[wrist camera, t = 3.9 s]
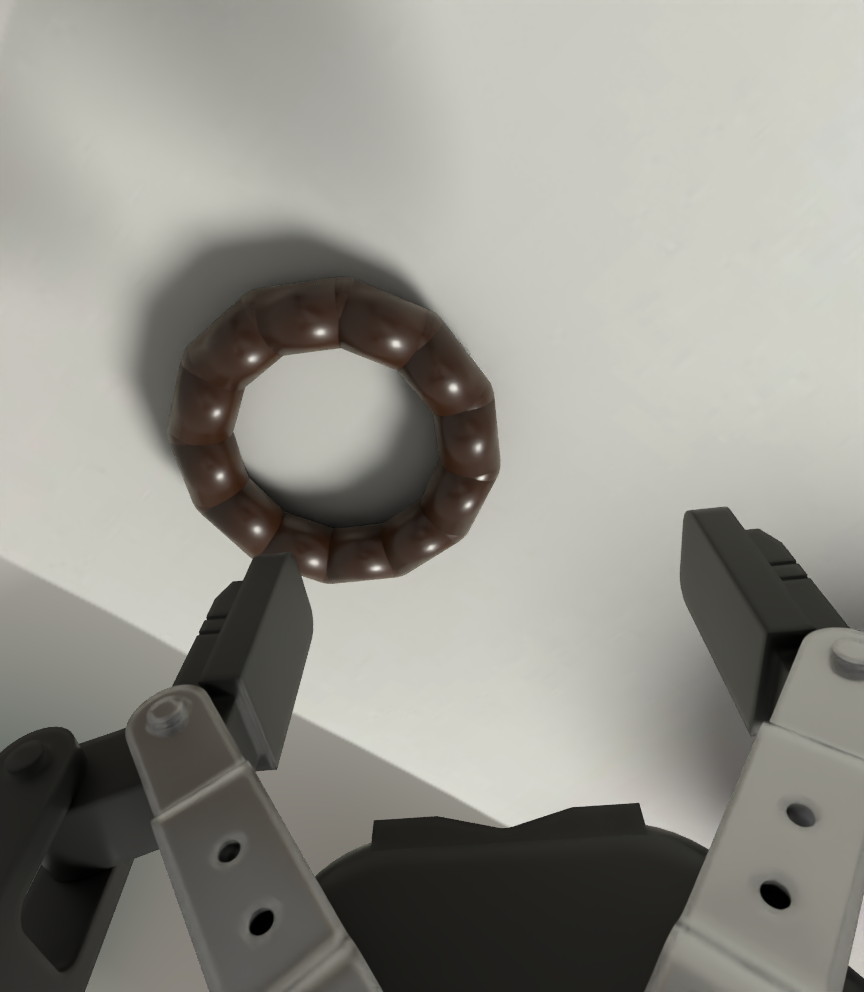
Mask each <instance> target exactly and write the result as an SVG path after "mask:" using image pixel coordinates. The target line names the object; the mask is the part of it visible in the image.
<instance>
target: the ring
mask: <svg viewBox="0 0 864 992" xmlns="http://www.w3.org/2000/svg"><path fill="white" fill-rule="evenodd" d="M336 348H342V349H344V350H347V351H350V352H352V353H355V354H357V355H360V356H362V357H365V358H367V359H370V360H373V361H375V362H378V363H380V364H383V365H385V366H388V367H390V368H393V369H396V370H397V371H398V372H399V373H400V374H401V375H402V377H403V378H404V379H405V380H406V381H407V383H408V384H409V385H410V386H411V387H412V389H413V390H414V391H415V392H416V393H417V395H418V396H419V397H420V398H421V399H422V401H423V402H424V403H425V404H426V405H427V407H428V408H429V409H430V410H431V411H432V413H433V418H434V425H435V432H436V438H437V445H438V452H439V458H440V459H439V461H438V463H437V466H436V468H435V470H434V472H433V474H432V476H431V479H430V481H429V483H428V485H427V487H426V489H425V492H424V494H423V496H422V498H421V499H419V500H418V501H416V502H415V503H413V504H412V505H410V506H409V507H407V508H406V509H404V510H403V511H401V512H400V513H398V514H397V515H395V516H394V517H392V518H391V519H389V520H388V521H386V522H385V523H381V524H372V525H363V526H354V527H344V528H335V529H334V528H331V527H328V526H325V525H322V524H319V523H316V522H313V521H310V520H307V519H304V518H301V517H298V516H295V515H293V514H290V513H287V512H284V511H283V510H282V509H281V508H280V507H279V506H278V505H277V504H276V503H275V502H274V501H273V500H272V499H271V498H270V497H269V496H268V495H267V494H266V493H265V492H264V491H262V490H261V489H260V488H259V487H258V486H257V485H256V484H255V483H254V482H253V481H252V480H251V479H250V478H249V477H248V475H247V472H246V469H245V466H244V463H243V460H242V457H241V454H240V451H239V448H238V445H237V442H236V439H235V436H234V432H233V430H234V426H235V423H236V419H237V415H238V411H239V408H240V404H241V400H242V397H243V393H244V389H245V387H246V386H247V385H248V384H250V383H251V382H252V381H253V380H254V379H256V378H257V377H258V376H259V375H260V374H262V373H263V372H264V371H265V370H266V369H268V368H269V367H270V366H271V365H272V364H274V363H275V362H276V361H277V360H278V359H280V358H281V357H282V356H284V355H291V354H299V353H306V352H314V351H321V350H329V349H336ZM167 435H168V439H169V442H170V445H171V447H172V450H173V452H174V455H175V458H176V460H177V463H178V465H179V468H180V471H181V473H182V476H183V478H184V481H185V483H186V486H187V489H188V491H189V494H190V496H191V499H192V502H193V504H194V506H195V507H196V509H197V510H198V511H199V512H200V513H201V514H202V515H203V516H204V517H205V518H207V519H208V520H209V521H210V522H211V523H212V524H213V525H214V526H216V527H217V528H218V529H219V530H220V531H221V532H222V533H223V534H225V535H226V536H227V537H228V538H229V539H230V540H231V541H232V542H234V543H235V544H236V545H237V546H238V547H239V548H240V549H241V550H243V551H244V552H245V553H246V554H247V555H248V556H249V557H251V558H252V559H253V558H254V557H255V556H257V555H267V554H276V553H285V552H291V553H293V555H294V556H295V558H296V561H297V564H298V567H299V571H300V574H301V576H303V577H306V578H310V579H313V580H316V581H319V582H322V583H327V584H335V583H345V582H355V581H365V580H375V579H385V578H395V577H400V576H403V575H405V574H407V573H409V572H410V571H412V570H414V569H415V568H417V567H419V566H420V565H422V564H423V563H425V562H427V561H428V560H430V559H431V558H433V557H435V556H436V555H438V554H439V553H441V552H443V551H444V550H446V549H448V548H449V547H451V546H452V545H454V544H456V543H457V542H459V541H460V540H461V539H463V538H464V537H465V536H466V534H467V533H468V531H469V530H470V528H471V526H472V524H473V522H474V520H475V518H476V516H477V514H478V512H479V510H480V509H481V507H482V505H483V503H484V501H485V499H486V497H487V495H488V493H489V491H490V490H491V488H492V486H493V484H494V482H495V480H496V478H497V476H498V474H499V470H500V452H499V442H498V431H497V421H496V410H495V400H494V392H493V388H492V386H491V384H490V382H489V380H488V379H487V378H486V376H485V375H484V374H483V372H482V371H481V370H480V368H479V367H478V366H477V365H476V363H475V362H474V361H473V359H472V358H471V357H470V355H469V354H468V353H467V352H466V350H465V349H464V348H463V346H462V345H461V344H460V342H459V341H458V340H457V338H456V337H455V336H454V335H453V333H452V332H451V331H450V329H449V328H448V327H447V325H446V324H445V323H444V322H443V320H442V319H441V318H440V317H439V316H438V315H437V314H435V313H434V312H432V311H430V310H428V309H426V308H423V307H421V306H419V305H416V304H414V303H411V302H409V301H406V300H404V299H402V298H399V297H397V296H394V295H392V294H389V293H387V292H385V291H382V290H380V289H377V288H375V287H373V286H370V285H368V284H365V283H363V282H360V281H358V280H356V279H352V278H349V277H334V278H327V279H320V280H313V281H306V282H299V283H292V284H285V285H278V286H271V287H264V288H258V289H254V290H252V291H250V292H248V293H246V294H245V295H244V296H242V297H241V298H240V299H239V300H238V301H237V302H236V303H235V304H234V305H232V306H231V307H230V308H229V309H228V310H227V311H226V312H225V313H224V314H222V315H221V316H220V317H219V318H218V319H217V320H216V321H215V322H214V323H212V324H211V325H210V326H209V327H208V328H207V329H206V330H205V331H204V332H202V333H201V334H200V335H199V336H198V337H197V338H196V339H195V340H194V341H193V342H191V343H190V344H189V345H188V347H187V348H186V349H185V351H184V353H183V355H182V358H181V362H180V367H179V372H178V377H177V381H176V386H175V391H174V396H173V401H172V406H171V410H170V415H169V420H168V426H167Z"/></svg>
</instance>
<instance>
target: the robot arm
mask: <svg viewBox="0 0 864 992" xmlns="http://www.w3.org/2000/svg"><path fill="white" fill-rule="evenodd" d="M680 583H681V590H682V594H683V598H684V601H685V603H686V606H687V608H688V610H689V612H690V614H691V616H692V618H693V620H694V622H695V624H696V626H697V628H698V630H699V632H700V634H701V636H702V638H703V640H704V642H705V644H706V646H707V648H708V650H709V652H710V654H711V656H712V658H713V660H714V663H715V665H716V667H717V669H718V671H719V673H720V675H721V677H722V679H723V681H724V683H725V685H726V687H727V689H728V691H729V693H730V695H731V697H732V699H733V701H734V703H735V705H736V707H737V709H738V711H739V713H740V715H741V717H742V719H743V721H744V723H745V725H746V727H747V729H748V731H749V734H750V736H756V738H755V741H754V743H753V746H752V748H751V750H750V753H749V755H748V758H747V760H746V762H745V765H744V767H743V770H742V772H741V774H740V777H739V779H738V782H737V784H736V786H735V789H734V791H733V794H732V796H731V798H730V801H729V803H728V806H727V808H726V810H725V813H724V815H723V817H722V820H721V822H720V825H719V827H718V829H717V832H716V834H715V837H714V839H713V841H712V844H711V846H710V849H709V850H708V849H707V848H705V847H703V846H701V845H700V844H698V843H696V842H694V841H692V840H690V839H688V838H686V837H683V836H681V835H679V834H676V833H674V832H671V831H667V830H664V829H661V828H657V827H653V826H648V825H645V822H644V819H643V815H642V812H641V808H640V804H639V803H631V804H616V805H601V806H586V807H572V808H569V809H566V810H563V811H560V812H556V813H553V814H550V815H547V816H544V817H541V818H538V819H535V820H532V821H529V822H526V823H523V824H520V825H517V826H514V827H510V828H496V827H491V826H486V825H480V824H475V823H470V822H464V821H459V820H454V819H449V818H444V817H438V816H435V817H420V818H404V819H390V820H375V821H374V825H373V833H372V843H369V844H366V845H363V846H361V847H359V848H356V849H355V850H353V851H350V852H348V853H346V854H345V855H343V856H341V857H340V858H338V859H337V860H335V861H333V862H332V863H331V864H330V865H328V866H327V867H326V868H325V869H323V870H322V871H321V872H319V873H318V874H317V875H316V876H314V874H313V873H312V871H311V869H310V867H309V866H308V864H307V862H306V860H305V858H304V857H303V855H302V853H301V851H300V850H299V848H298V846H297V844H296V843H295V841H294V839H293V837H292V836H291V834H290V832H289V831H288V829H287V827H286V825H285V823H284V822H283V820H282V818H281V816H280V815H279V813H278V811H277V809H276V808H275V806H274V804H273V802H272V801H271V799H270V797H269V795H268V794H267V792H266V790H265V788H264V787H263V785H262V783H261V781H260V780H259V778H258V776H257V774H256V773H255V772H256V771H264V770H277V768H278V764H279V760H280V756H281V753H282V749H283V745H284V741H285V738H286V734H287V730H288V726H289V723H290V719H291V715H292V711H293V708H294V704H295V700H296V696H297V693H298V689H299V685H300V681H301V678H302V674H303V670H304V666H305V662H306V659H307V655H308V651H309V647H310V644H311V640H312V635H313V616H312V610H311V606H310V603H309V600H308V597H307V593H306V590H305V587H304V584H303V580H302V577H301V574H300V571H299V567H298V564H297V561H296V558H295V556H294V555H293V553H291V552H285V553H276V554H267V555H257V556H255V557H254V558H253V560H252V562H251V564H250V566H249V569H248V571H247V573H246V575H245V578H244V580H243V581H234V582H232V583H231V584H230V585H229V586H228V587H227V588H226V589H225V590H224V591H223V592H222V593H221V594H220V595H219V596H217V597H216V598H215V600H214V602H213V604H212V606H211V608H210V610H209V612H208V615H207V620H205V621H204V623H203V625H202V627H201V629H200V631H199V635H198V636H197V637H196V639H195V641H194V643H193V645H192V647H191V649H190V651H189V653H188V655H187V657H186V659H185V661H184V663H183V665H182V667H181V669H180V672H179V673H178V675H177V678H176V680H175V682H174V684H173V686H172V687H171V688H167V689H165V690H163V691H161V692H158V693H157V694H155V695H153V696H151V697H150V698H149V699H148V700H146V701H145V702H143V703H142V704H141V705H140V706H139V707H138V708H137V709H136V711H135V712H134V713H133V714H132V716H131V717H130V719H129V721H128V723H127V726H126V728H124V729H121V730H119V731H116V732H113V733H110V734H107V735H104V736H101V737H98V738H95V739H92V740H89V741H86V742H83V743H80V744H79V743H78V742H77V740H76V739H75V737H74V735H73V734H72V733H71V732H70V731H69V730H68V729H65V728H62V727H48V728H43V729H40V730H36V731H34V732H31V733H29V734H27V735H25V736H23V737H21V738H19V739H18V740H16V741H15V742H13V743H12V744H10V745H9V746H8V747H6V748H5V749H4V750H3V751H2V752H1V753H0V992H85V989H86V987H87V984H88V981H89V979H90V976H91V974H92V971H93V968H94V965H95V963H96V960H97V957H98V955H99V952H100V949H101V946H102V944H103V941H104V939H105V936H106V933H107V930H108V928H109V925H110V922H111V920H112V917H113V914H114V912H115V909H116V906H117V903H118V901H119V898H120V896H121V893H122V890H123V887H124V885H125V882H126V879H127V876H128V874H129V871H130V869H131V866H132V863H133V861H134V859H135V858H137V857H140V856H142V855H145V854H147V853H150V852H153V851H156V850H158V849H159V850H160V852H161V855H162V858H163V861H164V864H165V867H166V870H167V872H168V875H169V878H170V881H171V884H172V887H173V889H174V892H175V895H176V898H177V901H178V904H179V907H180V909H181V912H182V915H183V918H184V921H185V924H186V926H187V929H188V932H189V935H190V938H191V941H192V943H193V946H194V949H195V952H196V955H197V958H198V961H199V963H200V966H201V969H202V972H203V975H204V978H205V980H206V983H207V986H208V989H209V992H864V978H863V977H861V976H860V975H859V974H858V973H857V972H855V971H854V970H853V969H852V968H851V967H850V966H848V964H849V959H850V955H851V950H852V945H853V941H854V936H855V932H856V927H857V923H858V918H859V913H860V909H861V904H862V900H863V895H864V632H862V631H858V630H854V629H850V628H849V627H848V625H847V624H846V623H845V622H844V620H843V619H842V618H841V617H840V615H839V614H838V613H837V611H836V610H835V609H834V608H833V606H832V605H831V604H830V603H829V601H828V600H827V599H826V598H825V596H824V595H823V594H822V593H821V591H820V590H819V589H818V588H817V586H816V585H815V584H814V583H813V581H812V580H811V579H810V578H809V579H808V577H807V574H806V572H805V571H804V570H803V569H802V567H801V566H800V565H799V564H796V560H795V559H794V557H793V556H792V555H791V554H790V552H789V551H788V550H787V549H786V547H785V546H784V545H783V544H782V542H780V541H778V540H777V539H775V538H773V537H772V536H770V535H768V534H767V533H765V532H763V531H762V530H760V529H750V530H745V529H744V528H743V527H742V525H741V524H740V523H739V521H738V520H737V518H736V517H735V516H734V514H733V513H732V512H731V510H730V509H729V508H728V507H717V508H708V509H699V510H689V511H686V513H685V515H684V519H683V532H682V548H681V563H680ZM40 865H41V866H40ZM39 867H40V868H39ZM38 869H39V870H38ZM37 871H38V872H37ZM36 873H37V874H36ZM35 875H36V876H35ZM34 877H35V878H34ZM33 879H34V880H33ZM32 881H33V882H32ZM31 883H32V884H31ZM30 885H31V886H30ZM29 887H30V888H29ZM28 889H29V890H28ZM27 891H28V892H27ZM26 893H27V894H26Z"/></svg>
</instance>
